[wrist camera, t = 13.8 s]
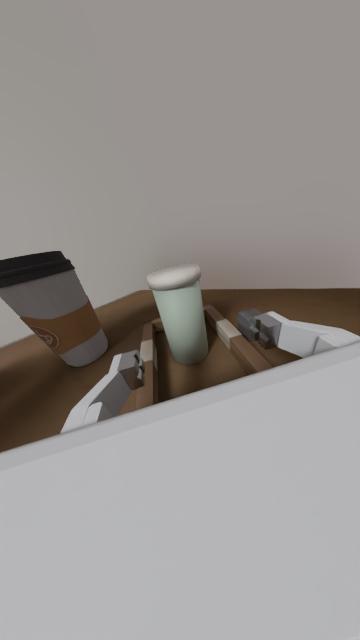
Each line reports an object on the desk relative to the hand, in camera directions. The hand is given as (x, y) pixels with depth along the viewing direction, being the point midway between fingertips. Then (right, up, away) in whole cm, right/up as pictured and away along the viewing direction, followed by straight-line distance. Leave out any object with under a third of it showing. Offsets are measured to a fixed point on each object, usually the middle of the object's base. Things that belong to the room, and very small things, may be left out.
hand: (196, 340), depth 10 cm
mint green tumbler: (0, -3, +10) cm, 10 cm away
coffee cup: (-16, -4, +14) cm, 22 cm away
